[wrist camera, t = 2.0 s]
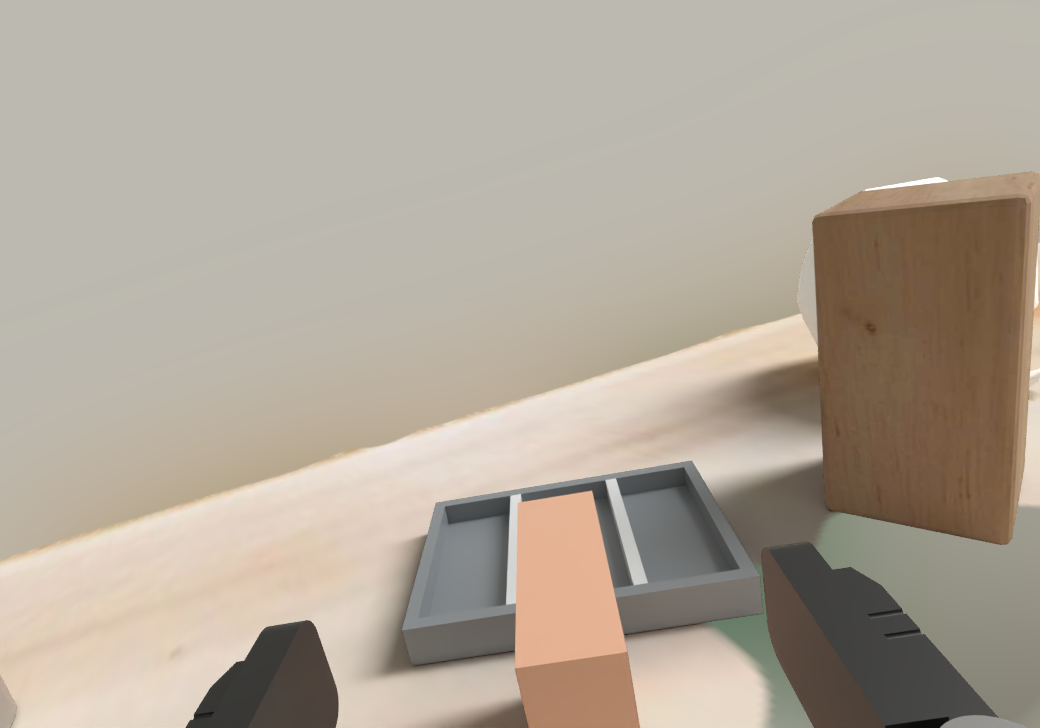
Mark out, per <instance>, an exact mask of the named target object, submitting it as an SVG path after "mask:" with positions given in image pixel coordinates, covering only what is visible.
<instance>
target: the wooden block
mask: <svg viewBox="0 0 1040 728" xmlns="http://www.w3.org/2000/svg"><path fill="white" fill-rule="evenodd" d="M1039 217H1040V175H1039V173H1035V172H1024V173H1015V174H1007V175H998V176H990V177H981V178H973V179H964V180H956V181H947V182H938V183H930V184H921V185H913V186H904V187H895V188H887V189H878V190H870V191H861V192H859V193H857V194H855V195H853V196H851V197H849V198H848V199H846V200H844V201H842V202H841V203H838V204H837V205H835V206H833V207H831V208H829V209H827V210H825V211H824V212H822V213H820V214H818V215H816V216H815V217H814V220H813V222H812V224H813V248H814V270H815V292H816V314H817V336H818V358H819V380H820V402H821V424H822V446H823V469H824V491H825V504H826V506H827V508H828V509H830V510H832V511H837V512H842V513H847V514H852V515H857V516H862V517H867V518H872V519H877V520H882V521H887V522H892V523H897V524H902V525H906V526H911V527H916V528H921V529H926V530H931V531H936V532H941V533H946V534H950V535H955V536H960V537H965V538H971V539H975V540H980V541H985V542H990V543H995V544H1000V545H1003V544H1008V543H1009V542H1010V540H1011V539H1012V536H1013V530H1014V524H1015V519H1016V513H1017V507H1018V501H1019V495H1020V489H1021V483H1022V477H1023V472H1024V462H1025V446H1026V430H1027V413H1028V397H1029V381H1030V364H1031V348H1032V332H1033V315H1034V299H1035V282H1036V266H1037V250H1038V233H1039Z"/></svg>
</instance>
